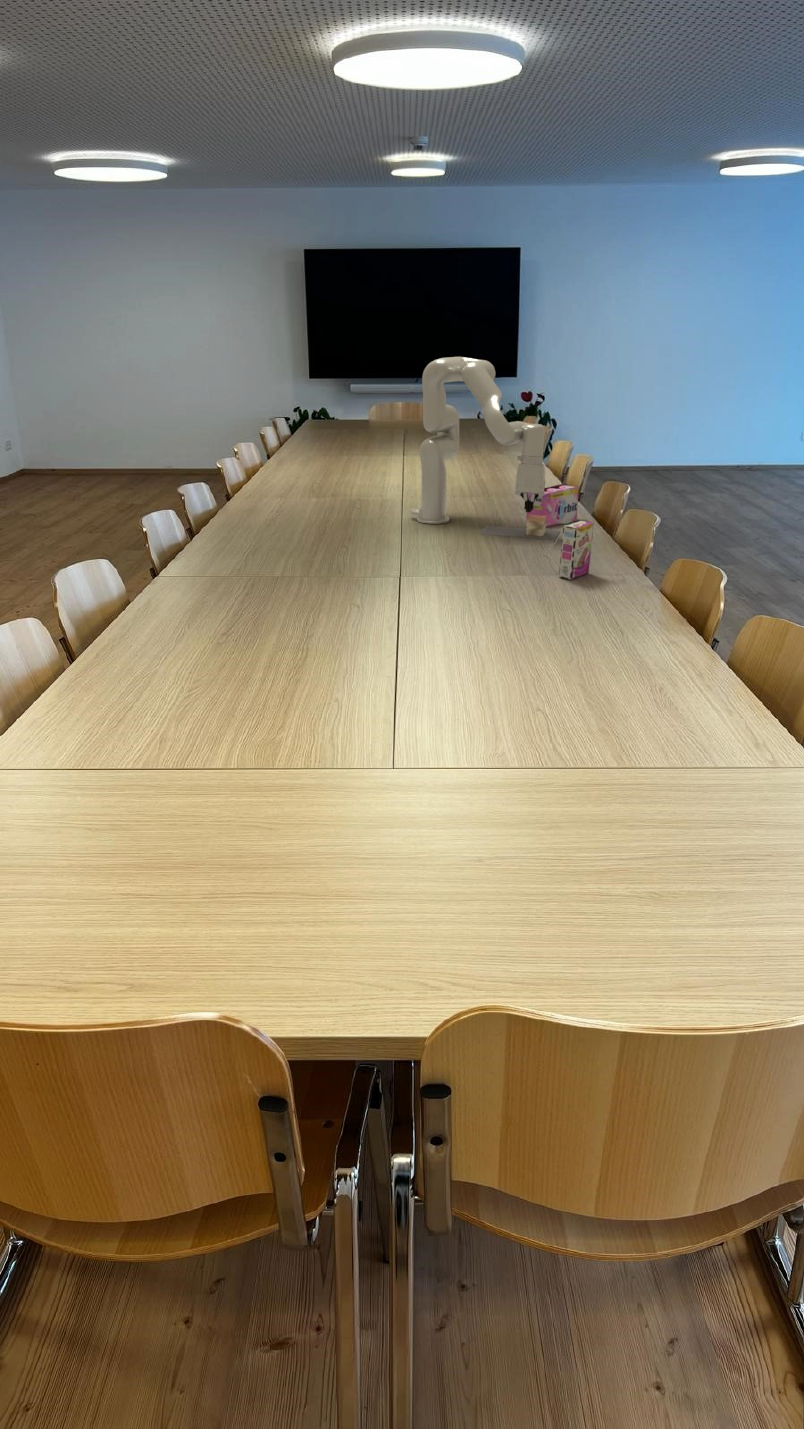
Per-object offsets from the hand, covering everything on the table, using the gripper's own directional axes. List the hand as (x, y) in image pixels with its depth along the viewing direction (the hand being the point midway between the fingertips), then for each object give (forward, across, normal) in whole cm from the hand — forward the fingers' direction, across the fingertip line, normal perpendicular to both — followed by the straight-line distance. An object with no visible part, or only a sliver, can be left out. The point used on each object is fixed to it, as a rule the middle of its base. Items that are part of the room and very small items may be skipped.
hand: (528, 511), depth 353 cm
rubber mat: (+9, -3, 0) cm, 9 cm away
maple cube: (+2, +3, 0) cm, 4 cm away
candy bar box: (+9, +23, -49) cm, 55 cm away
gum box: (+9, +6, +22) cm, 25 cm away
